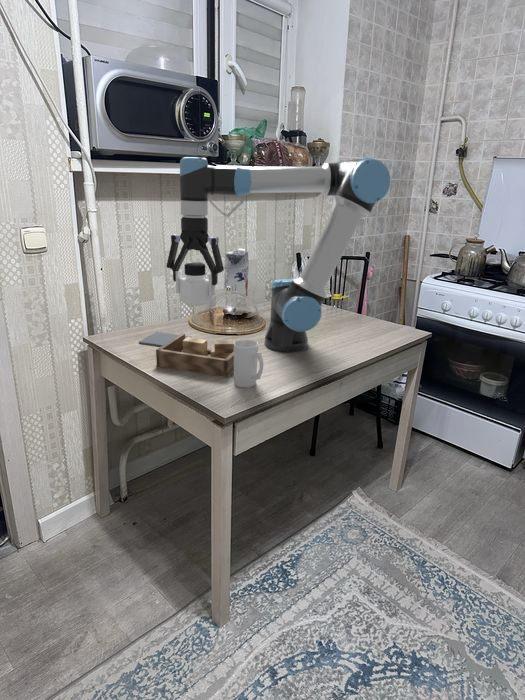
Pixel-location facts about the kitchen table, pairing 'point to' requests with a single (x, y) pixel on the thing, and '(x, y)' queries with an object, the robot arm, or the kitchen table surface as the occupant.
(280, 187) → the robot arm
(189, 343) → the offcut
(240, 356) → the mug
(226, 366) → the tray
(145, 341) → the mat
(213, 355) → the offcut lower
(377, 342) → the kitchen table surface
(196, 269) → the medicine bottle
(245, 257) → the juice carton
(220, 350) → the offcut upper
